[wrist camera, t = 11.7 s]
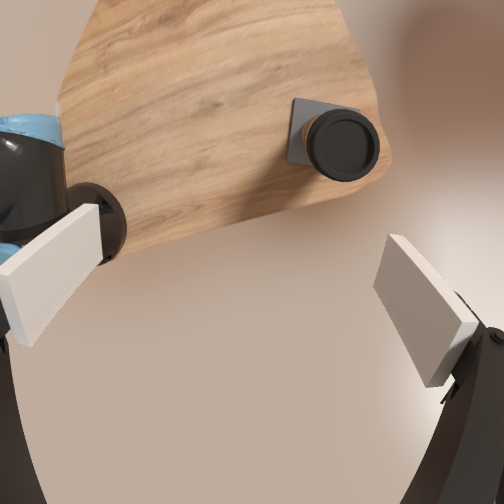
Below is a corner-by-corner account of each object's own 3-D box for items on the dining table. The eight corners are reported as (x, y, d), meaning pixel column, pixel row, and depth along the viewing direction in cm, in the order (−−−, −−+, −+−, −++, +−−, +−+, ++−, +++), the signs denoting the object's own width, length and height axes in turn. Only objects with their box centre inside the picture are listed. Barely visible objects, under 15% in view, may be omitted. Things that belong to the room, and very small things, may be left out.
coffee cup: (359, 130, 44) (398, 140, 30) (328, 172, 47) (355, 200, 34) (314, 97, 42) (338, 92, 29) (283, 142, 45) (293, 156, 32)
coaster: (286, 161, 47) (286, 162, 47) (294, 97, 43) (295, 97, 42) (349, 171, 48) (350, 172, 47) (359, 109, 43) (360, 109, 43)
